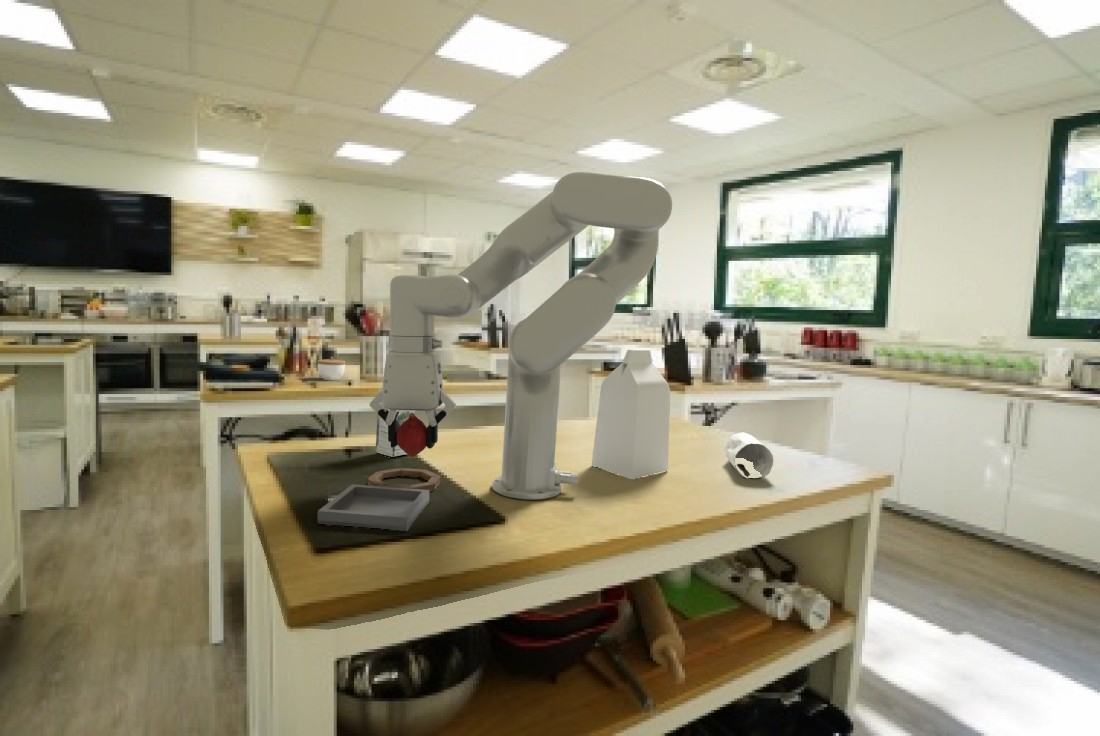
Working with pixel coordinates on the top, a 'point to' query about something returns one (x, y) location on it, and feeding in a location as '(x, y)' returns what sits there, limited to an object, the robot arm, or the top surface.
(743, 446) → the tipped white cup
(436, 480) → the ring
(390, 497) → the dish
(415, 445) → the onion
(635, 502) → the top surface
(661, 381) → the milk
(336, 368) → the lidded jar
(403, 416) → the syrup box
